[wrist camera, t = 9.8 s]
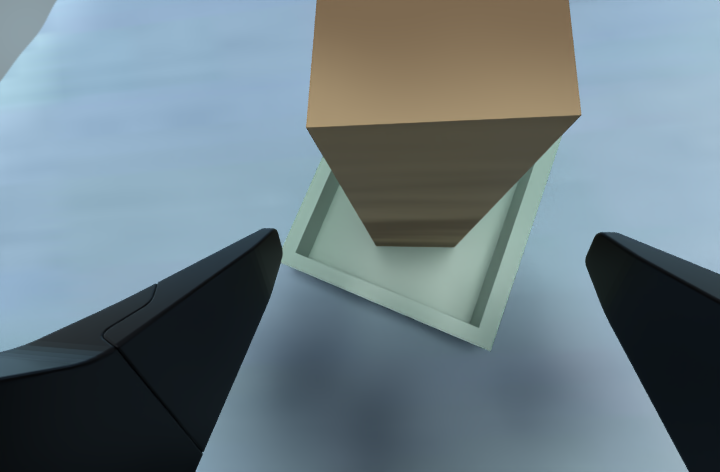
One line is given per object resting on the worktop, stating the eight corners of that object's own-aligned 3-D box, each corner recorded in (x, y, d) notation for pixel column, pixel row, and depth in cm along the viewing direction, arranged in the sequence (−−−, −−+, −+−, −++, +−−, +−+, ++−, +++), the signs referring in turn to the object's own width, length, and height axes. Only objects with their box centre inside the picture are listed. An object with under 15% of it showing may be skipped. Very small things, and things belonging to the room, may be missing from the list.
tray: (476, 342, 17) (490, 351, 14) (296, 266, 19) (276, 260, 16) (538, 159, 18) (562, 132, 16) (363, 110, 21) (356, 79, 18)
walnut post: (454, 247, 17) (581, 115, 5) (376, 246, 18) (306, 127, 5) (452, 173, 18) (556, -104, 6) (378, 175, 19) (322, -69, 6)
